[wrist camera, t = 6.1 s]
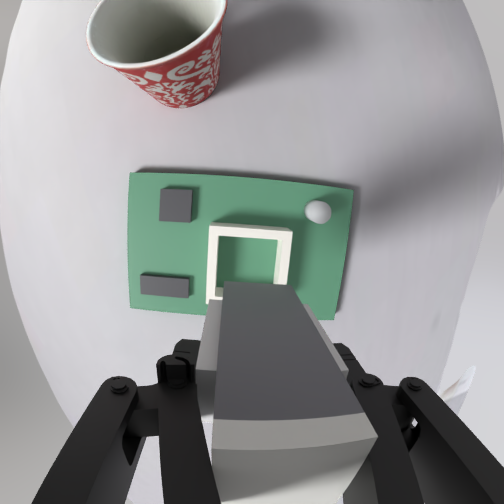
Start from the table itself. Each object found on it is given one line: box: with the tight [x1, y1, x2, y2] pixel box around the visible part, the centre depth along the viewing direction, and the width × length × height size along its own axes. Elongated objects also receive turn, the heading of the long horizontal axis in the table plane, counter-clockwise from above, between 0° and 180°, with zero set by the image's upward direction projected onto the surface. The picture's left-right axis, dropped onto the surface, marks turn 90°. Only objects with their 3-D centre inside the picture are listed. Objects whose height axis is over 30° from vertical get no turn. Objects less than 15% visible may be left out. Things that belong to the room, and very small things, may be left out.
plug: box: [212, 281, 378, 504], centre depth 11 cm, size 4×4×12 cm
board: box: [128, 173, 354, 320], centre depth 27 cm, size 14×22×4 cm, turn 85°
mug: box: [86, 0, 227, 108], centre depth 17 cm, size 13×9×14 cm
